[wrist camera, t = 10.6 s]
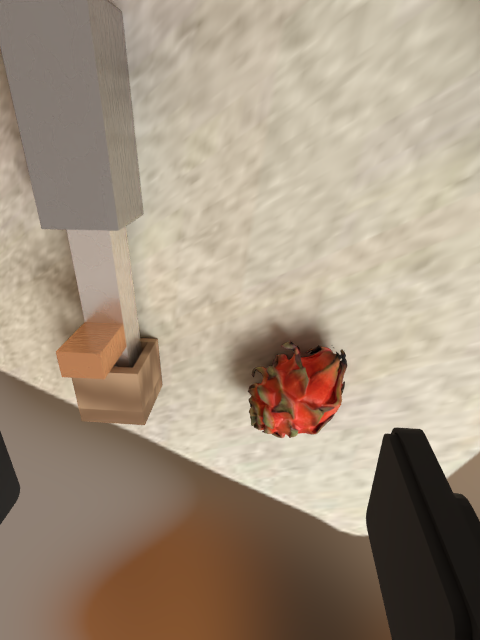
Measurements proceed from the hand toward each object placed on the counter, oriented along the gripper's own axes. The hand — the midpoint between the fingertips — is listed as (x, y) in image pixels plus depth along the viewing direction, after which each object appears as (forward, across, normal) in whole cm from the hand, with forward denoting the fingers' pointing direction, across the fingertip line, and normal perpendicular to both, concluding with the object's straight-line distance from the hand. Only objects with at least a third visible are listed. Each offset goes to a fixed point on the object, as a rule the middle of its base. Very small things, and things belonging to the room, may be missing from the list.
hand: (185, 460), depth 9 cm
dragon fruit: (+29, -5, +16) cm, 33 cm away
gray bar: (+27, +13, +5) cm, 30 cm away
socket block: (+28, +13, +16) cm, 35 cm away
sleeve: (+28, +13, -7) cm, 32 cm away
